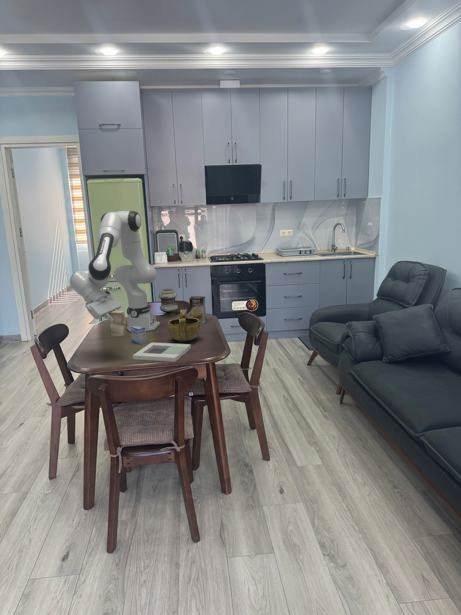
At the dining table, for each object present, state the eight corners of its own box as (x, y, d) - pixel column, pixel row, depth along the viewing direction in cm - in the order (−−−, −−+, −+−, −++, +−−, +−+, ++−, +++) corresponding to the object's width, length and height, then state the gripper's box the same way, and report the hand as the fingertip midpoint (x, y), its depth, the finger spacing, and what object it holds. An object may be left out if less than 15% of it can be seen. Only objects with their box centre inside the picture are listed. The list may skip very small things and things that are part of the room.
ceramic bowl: (170, 335, 237) (168, 309, 234) (200, 333, 238) (199, 308, 235) (168, 347, 215) (165, 319, 212) (201, 345, 216) (199, 317, 213)
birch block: (115, 332, 204) (113, 310, 201) (126, 333, 202) (124, 311, 200) (111, 335, 200) (108, 313, 198) (122, 335, 199) (119, 313, 196)
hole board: (151, 346, 219) (151, 341, 219) (190, 348, 213) (190, 343, 213) (133, 359, 201) (132, 354, 200) (175, 361, 195) (175, 357, 194)
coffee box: (190, 323, 260) (188, 298, 257) (192, 320, 267) (190, 296, 263) (204, 323, 259) (203, 298, 255) (206, 320, 265) (205, 296, 262)
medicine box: (131, 342, 228) (130, 326, 226) (138, 340, 231) (137, 325, 229) (139, 344, 223) (138, 329, 221) (146, 342, 226) (145, 327, 224)
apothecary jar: (161, 318, 276) (159, 292, 272) (159, 314, 287) (157, 288, 283) (179, 316, 278) (177, 290, 274) (177, 312, 290) (175, 287, 286)
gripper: (87, 299, 189) (108, 320, 189) (111, 290, 208) (130, 310, 208) (79, 308, 192) (100, 329, 191) (104, 299, 211) (123, 318, 210)
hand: (116, 319), depth 200 cm, fingers closed on birch block, 4 cm apart
